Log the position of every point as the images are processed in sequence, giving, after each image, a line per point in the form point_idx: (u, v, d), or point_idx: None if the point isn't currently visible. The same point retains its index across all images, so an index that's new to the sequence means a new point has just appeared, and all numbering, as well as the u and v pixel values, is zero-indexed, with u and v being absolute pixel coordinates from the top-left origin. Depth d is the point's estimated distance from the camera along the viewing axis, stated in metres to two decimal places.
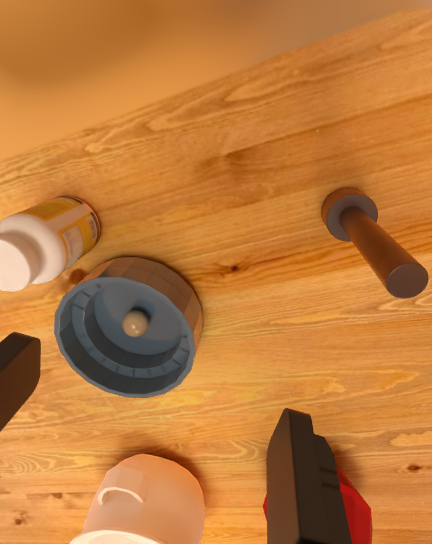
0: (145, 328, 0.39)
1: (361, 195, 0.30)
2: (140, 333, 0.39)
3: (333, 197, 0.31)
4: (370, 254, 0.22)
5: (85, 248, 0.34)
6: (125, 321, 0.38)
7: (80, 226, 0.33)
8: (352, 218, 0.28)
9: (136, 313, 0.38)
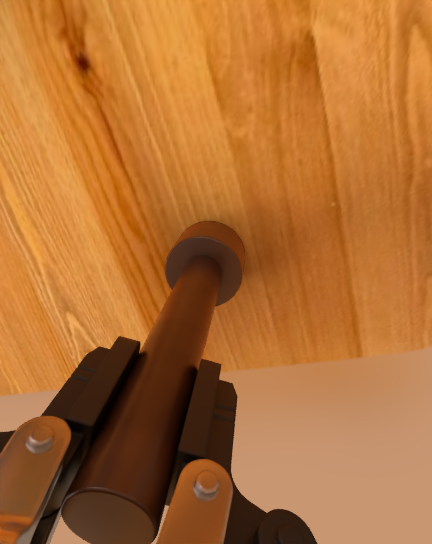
0: None
1: (239, 283, 0.19)
2: None
3: (233, 241, 0.19)
4: (157, 379, 0.10)
5: None
6: None
7: None
8: (209, 286, 0.16)
9: None
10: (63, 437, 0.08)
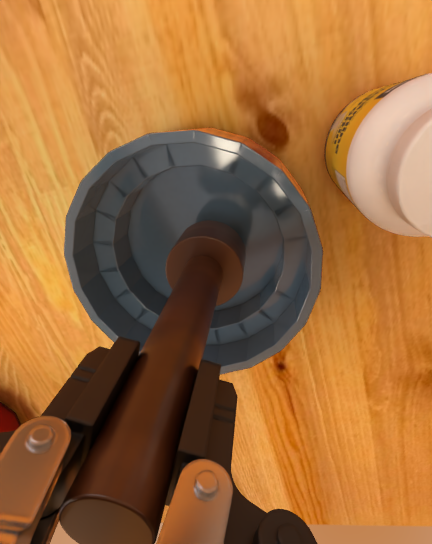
0: None
1: (239, 285, 0.19)
2: None
3: (235, 242, 0.19)
4: (158, 383, 0.10)
5: None
6: None
7: None
8: (210, 287, 0.16)
9: None
10: (63, 437, 0.08)
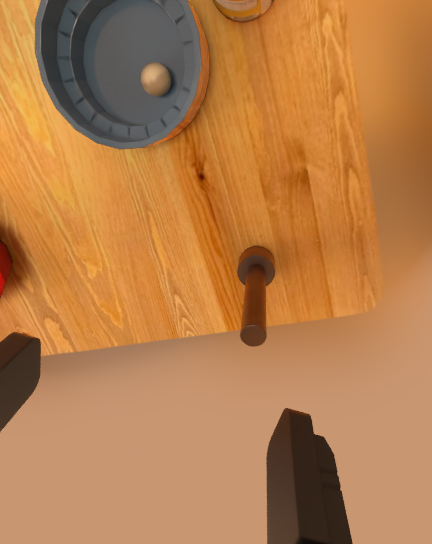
0: (150, 92, 0.34)
1: (272, 278, 0.41)
2: (157, 92, 0.34)
3: (271, 258, 0.41)
4: (258, 305, 0.31)
5: (226, 10, 0.30)
6: None
7: (253, 9, 0.29)
8: (263, 278, 0.37)
9: None
10: None
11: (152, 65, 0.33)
